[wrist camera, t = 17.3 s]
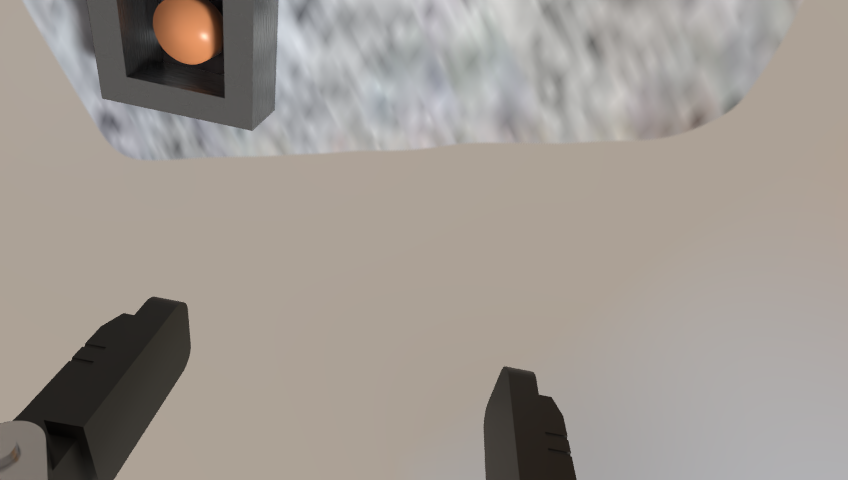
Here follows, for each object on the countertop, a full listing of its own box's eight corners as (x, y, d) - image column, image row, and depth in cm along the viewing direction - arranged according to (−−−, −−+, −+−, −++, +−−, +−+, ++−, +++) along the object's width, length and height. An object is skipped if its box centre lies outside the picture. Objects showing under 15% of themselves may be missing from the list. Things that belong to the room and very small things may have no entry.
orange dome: (165, -12, 35) (149, -10, 33) (226, 2, 35) (214, 5, 33) (170, 51, 37) (156, 57, 35) (227, 64, 37) (216, 70, 35)
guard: (122, -77, 34) (74, -79, 29) (279, -40, 34) (254, -37, 30) (140, 81, 40) (102, 98, 35) (274, 110, 40) (252, 130, 36)
